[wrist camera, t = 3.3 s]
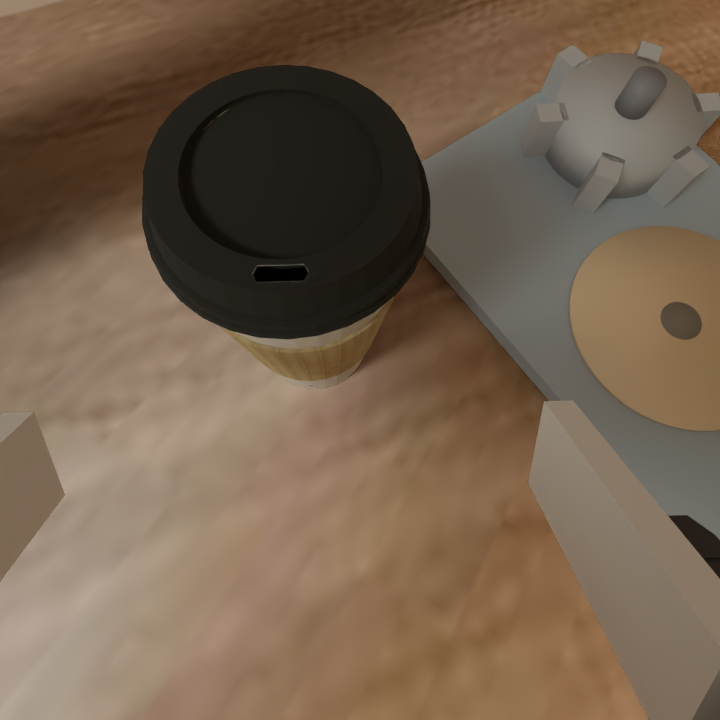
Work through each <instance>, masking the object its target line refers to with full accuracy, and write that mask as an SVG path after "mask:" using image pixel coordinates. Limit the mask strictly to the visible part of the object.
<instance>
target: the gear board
mask: <svg viewBox="0 0 720 720" xmlns="http://www.w3.org/2000/svg"><path fill="white" fill-rule="evenodd" d="M662 49H663V47H661V46H658V45H655V44H652V43H649V42H646V41H643V40H642V42H641V43H640V45H639V46H638V48H637V50H636V51H635V53H634V55H633V54H624V53H610V54H602V55H598V56H594V57H591V58H588V57H587V56H586V55H585V54H583V53H582V52H581V51H580V50H579V49H578V48H577V47H576V46H574V45H571V46H570V47H568V48H566V49H565V50H563V51H561V52H559V53H558V54H557V56H556V58H555V61H554V63H553V65H552V67H551V70H550V72H549V74H548V76H547V79H546V81H545V83H544V85H543V87H542V90H541V91H540V92H538V93H536V94H535V95H533V96H531V97H529V98H528V99H526V100H524V101H523V102H521V103H519V104H518V105H516V106H514V107H513V108H511V109H509V110H508V111H506V112H504V113H503V114H501V115H499V116H498V117H496V118H494V119H493V120H491V121H489V122H488V123H486V124H484V125H483V126H481V127H479V128H478V129H476V130H474V131H473V132H471V133H469V134H467V135H466V136H464V137H462V138H461V139H459V140H457V141H456V142H454V143H452V144H451V145H449V146H447V147H446V148H444V149H442V150H441V151H439V152H437V153H436V154H434V155H432V156H431V157H429V158H427V159H426V160H424V161H422V162H421V163H422V165H423V167H424V170H425V174H426V178H427V183H428V187H429V192H430V201H431V202H430V203H431V205H430V230H429V234H428V238H427V242H426V246H425V250H424V253H423V254H424V256H425V257H426V258H427V259H428V260H429V261H430V263H431V264H432V265H433V266H434V267H435V269H436V270H437V271H438V272H439V273H440V274H441V276H442V277H443V278H444V279H445V280H446V281H447V283H448V284H449V285H450V286H451V287H452V288H453V290H454V291H455V292H456V293H457V294H458V295H459V297H460V298H461V299H462V300H463V301H464V302H465V304H466V305H467V306H468V307H469V308H470V309H471V311H472V312H473V313H474V314H475V315H476V316H477V318H478V319H479V320H480V321H481V322H482V323H483V325H484V326H485V327H486V328H487V329H488V330H489V332H490V333H491V334H492V335H493V336H494V337H495V339H496V340H497V341H498V342H499V343H500V344H501V346H502V347H503V348H504V349H505V350H506V351H507V353H508V354H509V355H510V356H511V357H512V358H513V360H514V361H515V362H516V363H517V364H518V365H519V367H520V368H521V369H522V370H523V371H524V372H525V374H526V375H527V376H528V377H529V378H530V379H531V381H532V382H533V383H534V384H535V385H536V386H537V388H538V389H539V390H540V391H541V392H542V393H543V395H544V396H545V397H546V398H547V399H548V400H549V401H569V400H573V401H574V402H575V403H576V405H577V406H578V407H579V408H580V409H581V411H582V412H583V413H584V414H585V416H586V417H587V418H588V419H589V420H590V422H591V423H592V424H593V425H594V427H595V428H596V429H597V430H598V431H599V433H600V434H601V435H602V436H603V437H604V439H605V440H606V441H607V442H608V444H609V445H610V446H611V447H612V448H613V450H614V451H615V452H616V453H617V454H618V456H619V457H620V458H621V459H622V461H623V462H624V463H625V464H626V465H627V467H628V468H629V469H630V470H631V471H632V473H633V474H634V475H635V476H636V478H637V479H638V480H639V481H640V482H641V484H642V485H643V486H644V487H645V489H646V490H647V491H648V492H649V493H650V495H651V496H652V497H653V498H654V499H655V501H656V502H657V503H658V504H659V506H660V507H661V508H662V509H663V510H664V512H665V513H666V514H667V515H668V516H672V515H688V516H689V517H691V518H692V519H694V520H695V521H696V522H698V523H699V524H701V525H702V526H704V527H705V528H706V529H708V530H709V531H711V532H712V533H713V534H715V535H716V536H717V538H718V539H719V540H720V165H718V164H717V163H716V162H715V161H714V160H713V159H712V158H710V157H709V156H708V155H707V154H706V153H705V152H704V151H702V150H701V149H700V148H699V147H698V146H697V145H696V144H697V143H698V141H699V139H700V137H701V136H702V135H703V133H704V132H705V131H706V130H707V129H708V128H709V127H710V126H711V125H712V124H713V123H714V122H715V120H716V119H717V118H718V117H719V116H720V97H719V94H718V93H703V94H695V92H694V91H693V89H692V88H691V87H690V86H689V84H688V83H687V82H686V81H685V80H684V79H683V78H682V77H681V76H679V75H678V74H677V73H675V72H674V71H673V70H671V69H670V68H668V67H666V66H665V65H663V64H661V63H658V61H659V58H660V55H661V52H662Z"/></svg>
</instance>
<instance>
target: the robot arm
mask: <svg viewBox="0 0 720 720" xmlns="http://www.w3.org/2000/svg"><path fill="white" fill-rule="evenodd" d="M528 484H529V486H530V488H531V490H532V492H533V494H534V496H535V498H536V500H537V502H538V504H539V506H540V508H541V510H542V511H543V513H544V515H545V517H546V519H547V521H548V523H549V525H550V527H551V529H552V531H553V533H554V535H555V537H556V539H557V541H558V543H559V545H560V547H561V549H562V551H563V553H564V555H565V557H566V559H567V561H568V562H569V564H570V566H571V568H572V570H573V572H574V574H575V576H576V578H577V580H578V582H579V584H580V586H581V588H582V590H583V592H584V594H585V596H586V598H587V600H588V602H589V604H590V606H591V608H592V610H593V612H594V613H595V615H596V617H597V619H598V621H599V623H600V625H601V627H602V629H603V631H604V633H605V635H606V637H607V639H608V641H609V643H610V645H611V647H612V649H613V651H614V653H615V655H616V657H617V659H618V661H619V663H620V665H621V666H622V668H623V670H624V672H625V674H626V676H627V678H628V680H629V682H630V684H631V686H632V688H633V690H634V692H635V694H636V696H637V698H638V700H639V702H640V704H641V706H642V708H643V710H644V712H645V714H646V716H647V717H648V719H649V720H720V540H719V539H718V538H717V536H716V535H715V534H713V533H712V532H711V531H709V530H708V529H706V528H705V527H704V526H702V525H701V524H699V523H698V522H696V521H695V520H694V519H692V518H691V517H689V516H688V515H672V516H668V515H667V514H666V513H665V512H664V510H663V509H662V508H661V507H660V506H659V504H658V503H657V502H656V501H655V499H654V498H653V497H652V496H651V495H650V493H649V492H648V491H647V490H646V489H645V487H644V486H643V485H642V484H641V482H640V481H639V480H638V479H637V478H636V476H635V475H634V474H633V473H632V471H631V470H630V469H629V468H628V467H627V465H626V464H625V463H624V462H623V461H622V459H621V458H620V457H619V456H618V454H617V453H616V452H615V451H614V450H613V448H612V447H611V446H610V445H609V444H608V442H607V441H606V440H605V439H604V437H603V436H602V435H601V434H600V433H599V431H598V430H597V429H596V428H595V427H594V425H593V424H592V423H591V422H590V420H589V419H588V418H587V417H586V416H585V414H584V413H583V412H582V411H581V409H580V408H579V407H578V406H577V405H576V403H575V402H574V401H573V400H569V401H544V404H543V409H542V414H541V419H540V424H539V430H538V435H537V440H536V445H535V450H534V455H533V460H532V465H531V470H530V475H529V481H528ZM64 495H65V494H64V491H63V488H62V486H61V483H60V480H59V478H58V475H57V472H56V470H55V467H54V464H53V462H52V459H51V456H50V453H49V451H48V448H47V445H46V443H45V440H44V437H43V435H42V432H41V429H40V427H39V424H38V421H37V418H36V416H35V413H34V412H5V413H2V414H1V415H0V581H1V579H2V578H3V577H4V575H5V574H6V573H7V571H8V570H9V569H10V567H11V566H12V565H13V563H14V562H15V561H16V559H17V558H18V557H19V555H20V554H21V553H22V551H23V550H24V549H25V547H26V546H27V545H28V543H29V542H30V541H31V539H32V538H33V537H34V535H35V534H36V533H37V531H38V530H39V529H40V527H41V526H42V525H43V523H44V522H45V521H46V519H47V518H48V517H49V515H50V514H51V513H52V511H53V510H54V509H55V507H56V506H57V505H58V503H59V502H60V501H61V499H62V498H63V497H64Z"/></svg>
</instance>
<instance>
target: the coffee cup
mask: <svg viewBox="0 0 720 720" xmlns="http://www.w3.org/2000/svg"><path fill="white" fill-rule="evenodd" d="M430 202H431V201H430V192H429V187H428V183H427V178H426V174H425V170H424V167H423V165H422V163H421V161H420V159H419V157H418V155H417V153H416V150H415V148H414V145H413V142H412V140H411V138H410V136H409V134H408V132H407V130H406V128H405V125H404V124H403V122H402V121H401V120H400V119H399V117H398V116H397V115H396V113H395V112H394V111H393V109H392V108H391V107H390V106H389V105H388V104H387V103H386V102H384V101H383V100H382V99H381V98H380V97H379V96H378V95H376V94H375V93H374V92H373V91H371V90H369V89H368V88H366V87H364V86H363V85H361V84H359V83H358V82H356V81H354V80H352V79H349V78H347V77H344V76H342V75H339V74H336V73H334V72H331V71H326V70H322V69H317V68H312V67H308V66H291V65H278V66H267V67H257V68H253V69H249V70H245V71H241V72H237V73H233V74H231V75H228V76H226V77H224V78H221V79H219V80H216V81H214V82H212V83H210V84H208V85H207V86H205V87H203V88H202V89H200V90H198V91H197V92H195V93H194V94H192V95H190V96H189V97H188V98H187V99H186V100H185V101H184V102H183V103H181V104H180V105H179V106H178V107H177V108H176V109H175V110H173V112H172V113H171V114H170V115H169V117H168V118H167V119H166V121H165V122H164V123H163V124H162V126H161V127H160V128H159V130H158V132H157V134H156V136H155V138H154V140H153V142H152V144H151V146H150V148H149V150H148V154H147V159H146V163H145V167H144V171H143V198H142V223H143V229H144V233H145V237H146V241H147V245H148V250H149V251H150V255H151V257H152V260H153V262H154V264H155V266H156V268H157V270H158V271H159V273H160V275H161V277H162V279H163V281H164V282H165V283H166V285H167V286H168V287H169V288H170V289H171V291H172V292H173V293H174V294H175V295H176V296H177V298H178V299H179V300H180V301H181V302H182V303H184V304H185V305H186V306H188V307H189V308H190V309H191V310H193V311H194V312H195V313H197V314H198V315H199V316H201V317H202V318H204V319H206V320H208V321H210V322H212V323H214V324H216V325H218V326H220V327H221V328H222V329H223V330H224V331H226V332H227V333H228V334H229V335H230V336H231V337H232V338H234V339H235V340H236V341H237V342H238V343H239V344H240V345H242V346H243V347H244V348H245V349H246V350H247V351H249V352H250V353H251V354H252V355H253V356H254V357H255V358H257V359H258V360H259V361H260V362H261V363H262V364H264V365H265V366H266V367H268V368H269V369H270V370H272V371H273V372H275V373H277V374H279V375H280V376H281V377H282V378H284V379H285V380H286V381H288V382H290V383H292V384H294V385H296V386H299V387H303V388H308V389H320V388H327V387H330V386H333V385H336V384H338V383H340V382H342V381H344V380H346V379H347V378H348V377H349V376H350V375H351V374H353V373H354V371H355V370H356V369H357V368H358V366H359V365H360V363H361V361H362V359H363V357H364V355H365V354H366V353H367V351H368V350H369V348H370V346H371V344H372V342H373V340H374V339H375V336H376V334H377V332H378V330H379V328H380V326H381V324H382V322H383V320H384V318H385V316H386V314H387V312H388V309H389V307H390V305H391V303H392V301H393V299H394V297H395V295H396V294H397V293H398V292H399V290H400V289H401V288H402V287H403V285H404V284H405V283H406V282H407V281H408V279H409V278H410V277H411V276H412V274H413V273H414V271H415V269H416V267H417V265H418V263H419V261H420V259H421V257H422V255H423V253H424V250H425V246H426V242H427V238H428V234H429V230H430V205H431V203H430Z"/></svg>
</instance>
